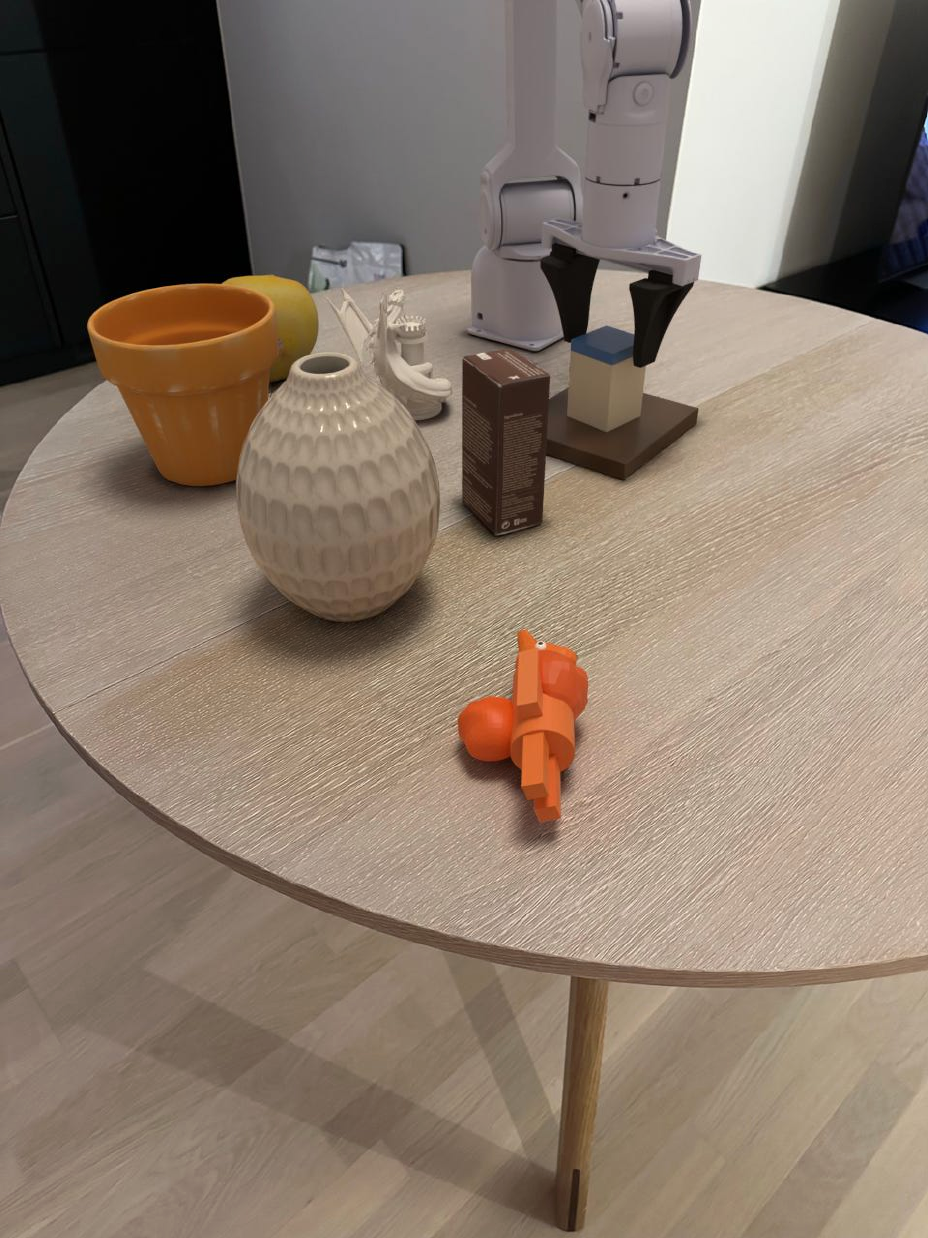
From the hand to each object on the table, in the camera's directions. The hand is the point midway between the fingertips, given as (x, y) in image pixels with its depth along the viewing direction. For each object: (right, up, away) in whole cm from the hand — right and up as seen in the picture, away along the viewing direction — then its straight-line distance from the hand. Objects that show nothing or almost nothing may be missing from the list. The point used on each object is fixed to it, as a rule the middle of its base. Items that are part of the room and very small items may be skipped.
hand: (608, 350), depth 78 cm
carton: (0, -5, +4) cm, 6 cm away
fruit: (-32, +2, +16) cm, 36 cm away
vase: (-20, -21, -14) cm, 32 cm away
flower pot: (-34, -9, +2) cm, 35 cm away
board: (0, -6, +5) cm, 8 cm away
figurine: (-19, -3, +9) cm, 21 cm away
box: (-9, -15, -6) cm, 18 cm away
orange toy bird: (-9, -30, -26) cm, 41 cm away
